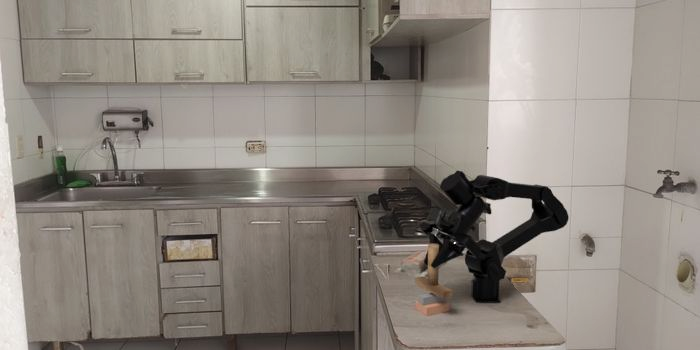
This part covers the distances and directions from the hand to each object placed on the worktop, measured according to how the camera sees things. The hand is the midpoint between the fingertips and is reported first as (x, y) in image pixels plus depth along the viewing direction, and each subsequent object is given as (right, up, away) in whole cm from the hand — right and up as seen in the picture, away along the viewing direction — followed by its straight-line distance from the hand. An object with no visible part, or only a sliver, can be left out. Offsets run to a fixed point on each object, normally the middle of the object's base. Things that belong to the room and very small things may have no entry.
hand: (428, 265), depth 139 cm
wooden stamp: (+1, -6, +2) cm, 7 cm away
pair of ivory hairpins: (-9, -8, +31) cm, 33 cm away
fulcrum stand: (+1, -11, +2) cm, 12 cm away
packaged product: (+3, -7, +36) cm, 37 cm away
